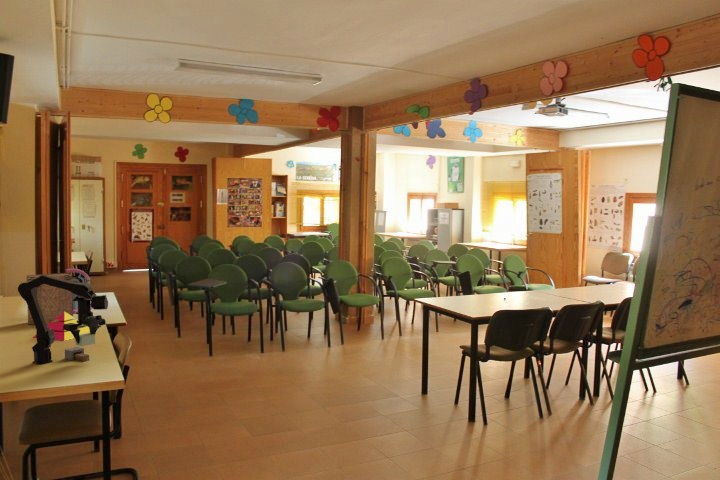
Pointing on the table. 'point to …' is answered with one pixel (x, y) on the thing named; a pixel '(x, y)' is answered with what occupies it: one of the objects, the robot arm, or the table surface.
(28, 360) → the table surface
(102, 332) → the table surface
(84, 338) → the sage green end cap
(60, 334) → the pyramid toy
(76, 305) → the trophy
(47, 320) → the book
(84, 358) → the walnut rail
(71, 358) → the charcoal end cap
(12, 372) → the table surface
